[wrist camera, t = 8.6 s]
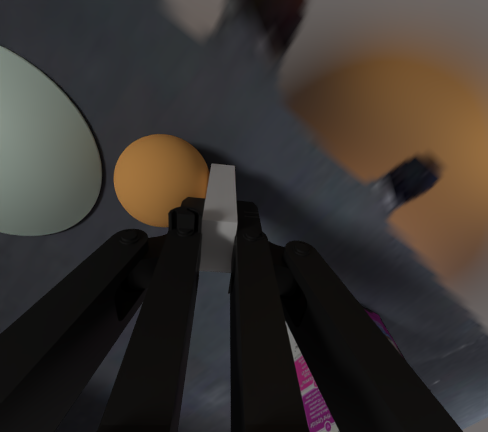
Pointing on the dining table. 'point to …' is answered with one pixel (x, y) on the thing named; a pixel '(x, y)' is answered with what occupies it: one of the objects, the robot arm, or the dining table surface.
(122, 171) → the ball
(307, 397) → the candy bar box
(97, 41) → the dining table surface
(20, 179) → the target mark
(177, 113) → the dining table surface
